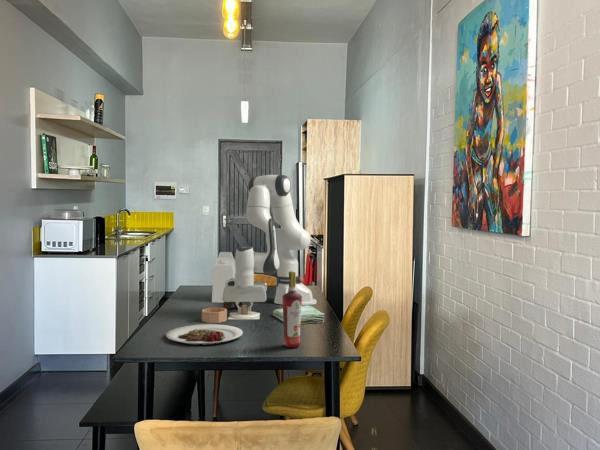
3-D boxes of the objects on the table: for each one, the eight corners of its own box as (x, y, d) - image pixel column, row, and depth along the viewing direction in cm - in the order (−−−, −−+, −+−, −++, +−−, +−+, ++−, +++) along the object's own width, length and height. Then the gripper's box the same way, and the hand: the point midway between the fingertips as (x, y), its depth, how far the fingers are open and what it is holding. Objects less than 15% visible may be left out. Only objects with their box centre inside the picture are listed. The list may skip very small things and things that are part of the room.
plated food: (192, 326, 243) (192, 318, 243) (255, 332, 232) (255, 324, 232) (150, 342, 216) (150, 333, 215) (219, 350, 205) (219, 341, 204)
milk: (238, 298, 307) (238, 251, 306) (234, 302, 296) (234, 253, 294) (217, 298, 308) (217, 250, 307) (211, 302, 297) (211, 253, 295)
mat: (259, 314, 268) (259, 312, 268) (259, 320, 254) (259, 319, 254) (230, 314, 267) (230, 312, 267) (228, 320, 253) (228, 319, 253)
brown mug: (244, 313, 271) (235, 299, 269) (227, 321, 273) (218, 307, 271) (247, 302, 283) (239, 289, 281) (231, 310, 284) (223, 296, 282)
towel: (288, 327, 244) (288, 315, 243) (272, 317, 263) (272, 306, 263) (326, 323, 250) (326, 312, 250) (308, 314, 270) (308, 303, 270)
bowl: (227, 318, 258) (227, 307, 257) (225, 323, 247) (225, 312, 247) (203, 318, 257) (203, 307, 257) (200, 323, 246) (200, 312, 246)
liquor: (295, 342, 216) (296, 270, 214) (305, 347, 209) (305, 272, 208) (278, 345, 212) (279, 271, 211) (287, 349, 206) (288, 273, 204)
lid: (258, 312, 267) (258, 302, 267) (258, 318, 254) (258, 308, 254) (231, 312, 267) (231, 302, 266) (229, 318, 254) (229, 308, 254)
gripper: (267, 280, 263) (267, 309, 264) (223, 280, 262) (223, 309, 263) (267, 282, 257) (267, 312, 258) (222, 282, 256) (222, 312, 257)
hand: (244, 311), depth 261 cm, fingers closed on lid, 3 cm apart
